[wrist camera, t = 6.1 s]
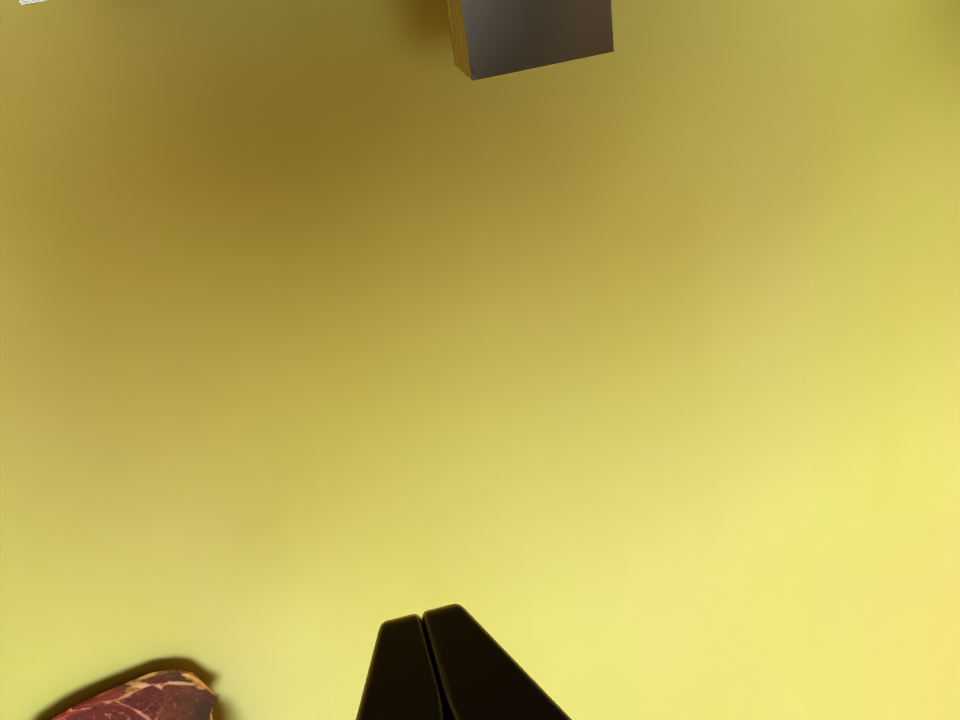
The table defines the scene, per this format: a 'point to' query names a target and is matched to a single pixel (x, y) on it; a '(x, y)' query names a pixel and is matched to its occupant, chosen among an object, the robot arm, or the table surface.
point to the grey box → (522, 33)
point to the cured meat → (150, 700)
